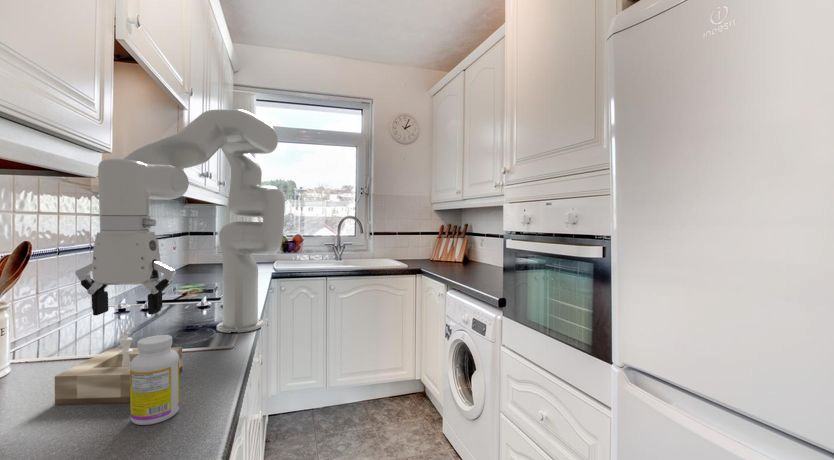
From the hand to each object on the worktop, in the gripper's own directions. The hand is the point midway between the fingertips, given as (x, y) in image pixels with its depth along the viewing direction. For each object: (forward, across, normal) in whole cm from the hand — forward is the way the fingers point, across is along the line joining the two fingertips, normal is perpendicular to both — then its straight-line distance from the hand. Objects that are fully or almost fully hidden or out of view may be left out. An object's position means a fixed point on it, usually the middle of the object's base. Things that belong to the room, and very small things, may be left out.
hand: (128, 313), depth 73 cm
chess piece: (+13, 0, +1) cm, 13 cm away
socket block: (+14, 0, +1) cm, 14 cm away
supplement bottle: (+14, -12, +13) cm, 22 cm away
